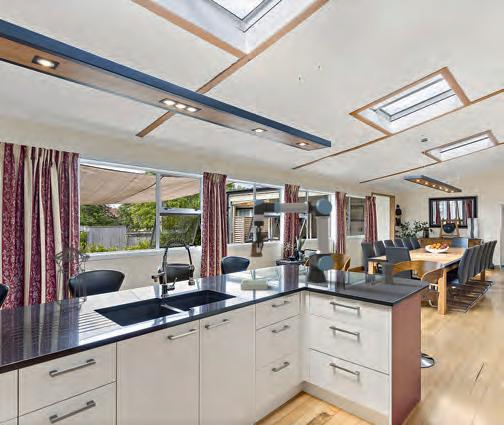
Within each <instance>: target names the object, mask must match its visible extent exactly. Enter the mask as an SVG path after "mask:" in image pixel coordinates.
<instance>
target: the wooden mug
mask: <svg viewBox="0 0 504 425" xmlns="http://www.w3.org/2000/svg"><path fill="white" fill-rule="evenodd" d="M267 235H268V233H267V231H264V232H263V233H261V239H260V252H257V243H256V241H257V240H252V241H251V249H250V255H249V257H250V258H262V257H263V253H262V251H263V248H264V243H265V242H264V240H265V239H266V237H267Z"/></svg>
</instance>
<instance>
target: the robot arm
mask: <svg viewBox="0 0 504 425" xmlns="http://www.w3.org/2000/svg"><path fill="white" fill-rule="evenodd" d="M332 211H333V204H332V202H331V201H330V200H328V199H326V198H320V199H316V200H309V201H304V202H284V203H283V202H276V201H275V202H265V200H264V199H254V201H253V215H252V217H253V226H254V227H256V229H255V231H256V240H255V241H256V243H257V252H260V239H261V235H262V230H263V229H262V228H261V227H264V226H265V221H264V220H265V214H276V213H277V214H282V213H284V214H285V213H286V214H287V213H289V214H291V213H293V214H294V213H305V214H306V215H307V214H311V215H313V216H314V218H315V220H316V241H317V242H316V245H317V246H316V247H317V250H316V251H314V252H313V251H312V252H309V254H308V274H307V277H306V281H307V282H310V283H325V282H327V278H326V277H327V276H326V273H325V272H328V271H330V270H331V269H332V268H333V267H334V264H335V263H334V259H333V258H332V253H331V251H330V246H329V245H330V244H329V218H331V212H332Z"/></svg>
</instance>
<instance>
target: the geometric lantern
mask: <svg viewBox="0 0 504 425" xmlns="http://www.w3.org/2000/svg"><path fill="white" fill-rule="evenodd" d="M69 253H70V254H69ZM68 254H69V255H68ZM78 256H80V257H78ZM50 258H51V259H52V258H53V260H54V261H55V265H58V268H59V269H58V270H56V272H57V274H56V288H55V301H54V302H55V303H56V304H57V305H58V306H59V310H60V309H62V310H63V308H66V309H65V311H69V312H72V311H71V310H72V308H74V309H73V311H77V310H76V309H77V308H78V307H79V308H78V310H81V309H82V305H83V304H84V303H85V302H87V286H86V285H87V282H86V262H87V261H88V260H89V259H90V258H91V255H90V254H87V253H85V252H83V251H82V250H80V249H78V248H76V247H74V246H69V247H67V248H65V249H64V250H62V251H61V250H60V252H58V253H56V254H55V255H53V256H51V257H50ZM79 260H80V261H79ZM74 261H77V262H75V263H74ZM61 262H62V263H61ZM65 263H70V264H71V265H70V267H68V268H67V269H62V267H63V266H64V264H65ZM82 263H83V264H84V266H83V267H84V269H82V266H81V265H82ZM60 264H61V265H60ZM76 265H78V267H77V266H76ZM72 266H74V267H75V268H72ZM70 270H74V271H73V273H74V294H73V297H70V298H69V297H68V274H71V273H72V271H70ZM65 271H66V272H65ZM68 271H69V272H68ZM80 272H81V278H82V292H83V293H82V295H83V297H81V283H80V282H81V281H80V280H81V279H80ZM61 274H62V276H61ZM77 274H78V275H77ZM77 276H78V296H76V293H77V292H76V291H77ZM61 277H62V284H61ZM64 282H65V291H66V292H65V295H66V296H65V298H63V297H64V296H63V295H64ZM61 285H62V286H61ZM60 286H61V287H60ZM60 288H61V298H60ZM72 299H73V302H71V303H69V302H68V300H72ZM75 299H76V301H75ZM80 299H81V300H82V301H79V300H80ZM63 301H66V302H65V303H63ZM69 305H72V306H73V307H72V306H69ZM70 308H71V310H70ZM75 308H76V309H75Z"/></svg>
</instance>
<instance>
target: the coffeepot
mask: <svg viewBox="0 0 504 425" xmlns="http://www.w3.org/2000/svg"><path fill="white" fill-rule="evenodd" d="M385 261H386V262H380V261H377V262H376V263H375V266H376V269H377V272H378V273H380V274H381V273H382V276H381V277H382V278H381V281H380V282H381V283H380V284H382V283H383V285H388V284H391V285H394V279H393V270H394V269H395V267H396V266H397V265H396V264H395V263H392V262H390V261H389V259H386V260H385ZM379 265H380V266H381V271H380V266H379Z"/></svg>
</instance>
